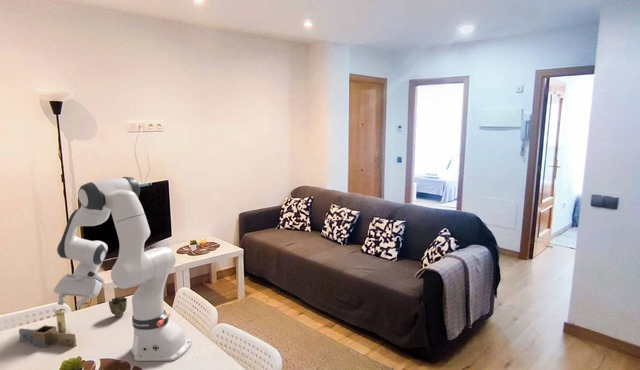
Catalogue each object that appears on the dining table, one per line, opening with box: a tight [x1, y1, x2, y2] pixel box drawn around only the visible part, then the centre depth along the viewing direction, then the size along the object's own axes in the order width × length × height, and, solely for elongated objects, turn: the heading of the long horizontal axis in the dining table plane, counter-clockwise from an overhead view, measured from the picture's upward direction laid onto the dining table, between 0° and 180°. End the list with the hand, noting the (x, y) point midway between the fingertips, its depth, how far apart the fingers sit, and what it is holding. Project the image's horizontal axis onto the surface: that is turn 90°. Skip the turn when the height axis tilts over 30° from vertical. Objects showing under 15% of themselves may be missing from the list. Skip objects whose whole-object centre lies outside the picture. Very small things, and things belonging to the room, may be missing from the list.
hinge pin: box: [54, 308, 67, 333], centre depth 163 cm, size 4×4×10 cm
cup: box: [108, 296, 128, 319], centre depth 177 cm, size 8×7×8 cm
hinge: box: [18, 324, 77, 349], centre depth 155 cm, size 26×6×6 cm, turn 80°
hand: (69, 305), depth 166 cm, fingers open, 8 cm apart
